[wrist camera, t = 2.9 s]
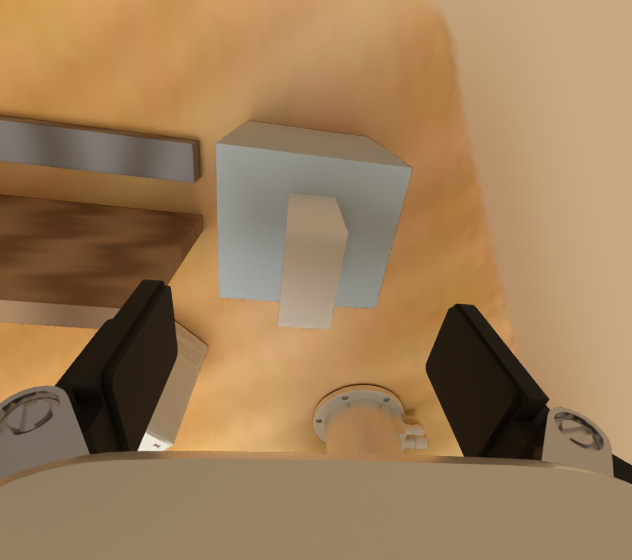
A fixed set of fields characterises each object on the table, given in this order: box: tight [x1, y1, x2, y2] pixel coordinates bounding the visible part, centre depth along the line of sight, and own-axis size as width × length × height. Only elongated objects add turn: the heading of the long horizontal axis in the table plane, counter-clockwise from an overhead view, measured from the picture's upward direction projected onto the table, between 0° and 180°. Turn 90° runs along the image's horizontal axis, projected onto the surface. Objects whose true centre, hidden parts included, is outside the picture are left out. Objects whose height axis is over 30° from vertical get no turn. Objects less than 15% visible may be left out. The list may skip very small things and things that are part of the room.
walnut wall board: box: [0, 115, 203, 329], centre depth 22 cm, size 20×8×15 cm, turn 83°
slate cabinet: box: [216, 121, 412, 330], centre depth 22 cm, size 10×9×18 cm
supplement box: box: [138, 321, 208, 451], centre depth 33 cm, size 7×7×13 cm
